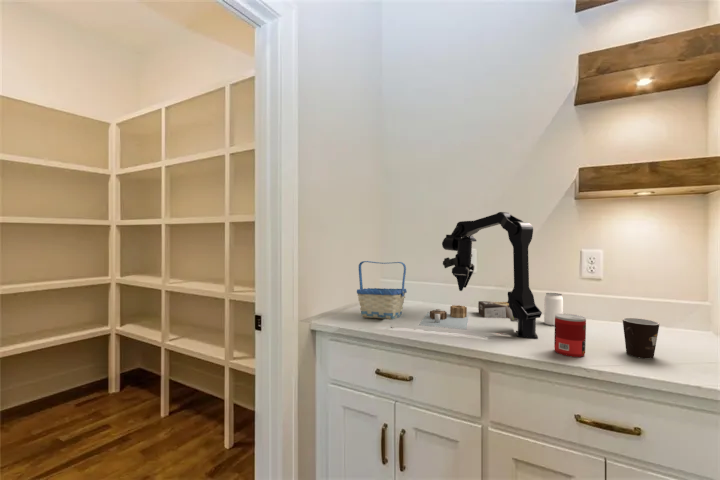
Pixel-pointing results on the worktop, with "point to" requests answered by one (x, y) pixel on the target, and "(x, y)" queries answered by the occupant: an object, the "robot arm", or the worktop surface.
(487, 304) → the coffee box
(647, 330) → the coffee mug
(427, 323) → the gear board
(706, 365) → the worktop surface
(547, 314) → the can
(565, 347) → the canned food
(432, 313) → the walnut gear
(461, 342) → the worktop surface
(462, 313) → the oak gear
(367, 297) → the basket
